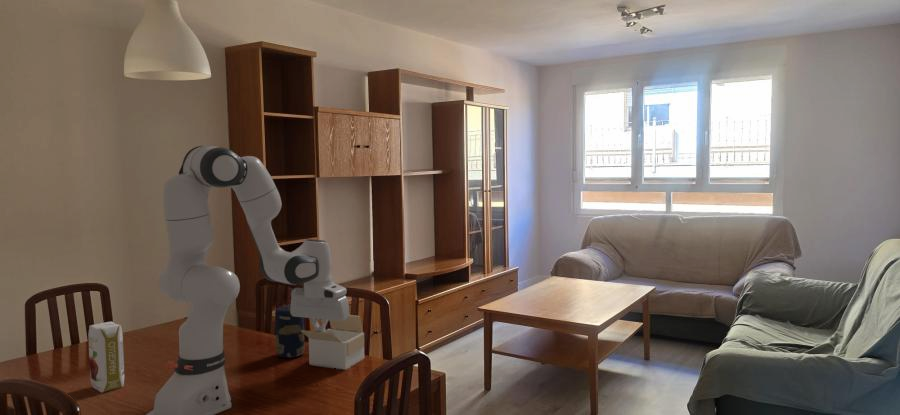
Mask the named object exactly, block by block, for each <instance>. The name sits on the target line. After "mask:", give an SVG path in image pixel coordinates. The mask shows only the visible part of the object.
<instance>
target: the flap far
mask: <svg viewBox="0 0 900 415" xmlns="http://www.w3.org/2000/svg"><path fill="white" fill-rule="evenodd" d="M328 322H329V323H330V324H329V325H330V329H335V330H344V331H353V332H361V333H363V325H362V320H361V316H360V315H356V314H355V315H353V314H349V317H348V318H347V319H346V320H344V321H335V320H328Z"/></svg>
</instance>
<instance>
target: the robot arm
mask: <svg viewBox="0 0 900 415" xmlns="http://www.w3.org/2000/svg"><path fill="white" fill-rule="evenodd" d="M181 164H182V165H181V166H180V169H179V171H178V174H177V175H174V176H172V177H171V178H169V179H167V180H166V181H165V183H164V185H163V192H162V193H163V196H162V198H163V199H162V200H163V213H164V214H163V215H164V219H165V225H166V231H167V238H168V251H169V252H168V260H167V263H166V266H165V268H164V270H163V271H162V272H161V274H160V276H159V281H158V284H159V285H158V286H159V288H160V291H161V292H162V294H163V295H164V296H166V297H168V298H169V299H170V300H173V301H175V302H179V303H183V304H184V303H186V304H189V312H188V316H187V319H186V320H185V321H184V322H182V324H181V325H180V326H179V329H178V341H179V342H178V343H179V344H178V345H179V355H178V357H177V359H176V361H172V360H170V361H168V362H167V364H166V368H167V369H168V370H174V372H173V374H172V375H171V377H169V379H168V380H167V381H166V382H165V384H164V385H163V386H162V387H161V388H160V390H159V391H157V393H156V395H155V398H154V402H153V403H154V404H153V409H152V410H151V411H149V412H148V413H146V414H145V415H217V414H219V413H221V412H224V411H226V410H229V409H231V408H232V406H233V405H232V402H231V400H232V397H231V395H230V392H229V387H228V381H227V376H226V372H225V371H226V370H225V365H226V354H225V353H226V352H225V350H224V344H223V341H224V340H223V339H224V338H223V337H224V335H223V334H224V320H225V316H226V315H227V314H226V313H227V311H228V308H229V307H230V305H231V304H233V303H234V302H235V300H236V299H237V298H238V296H239V293H240V290H241V289H240V288H241V285H240V280H239V277H238V276H237V274H235V273H234V272H232V271H231V270H229V269H226V268H224V267H221V266H216V265H208V264H207V261H206V256H207V252H208V249H209V247H211V246H212V245H213V242H214V237H215V236H214V231H213V230H214V229H213V226H212V219H211V212H210V207H209V203H208V201H209V193H210V191H211V189H212V188H214V187H215V188H221V189H222V188H228V187H230V188H231V189H232V190H233V191H234V192H235V196H236V197H237V200H238V202H239V204H240V207H241V208H242V211H243V213H244V215H245V219H246V223H247V226H248V229H249V232H250V234H251V237H252V240H253V242H254V244H255V247H256V249H257V252H258V256H259V265H260V271H261V274H262V275H263V277H264V278H265V279H266V280H267V281H269V282H270V281H271V282H275V283H276V282H277V283H283V284H287V285H293V286H298V285H303V287H295V288H293V289H292V290H291V293H290V296H291V299H290V305H291V307H290V313H291V315H292V316H294V317H304V318H306V319H310V322H311V324H312V325H313V327H314V331H315V332H325V331H326V330H327V329H326V326H327V325H328V322H329V320H335V321H344V320H346V319H347V318H348V317H349V315H350V304H349V300H348V297H347V296H346V295H347V290H348V289H347V288H346V287H344V286H342V285H340V284H338V283H335V282H333V277H332V271H331V270H332V265H333V264H332V252H331V248H330V244H329V243H328V241H326V240H324V239H323V240H322V239H314V238H307V239H305V240H304V241H303V243H302V244H300V246H299V247H297V248H296V249H295V250H293V251H291V252H290V251H286V250H285V249H283V248H282V247H280V245H279V243H278V240H277V238H276V236H275V233H274V230H273V228H272V220H274V219H275V218H276V217H277V216H278V215H279V213H280V211H281V209H282V207H283V206H282V204H283V203H282V199H281V195H280V192H279V190H278V188H277V186H276V184H275V182H274V179H273V178H272V176H271V174H270V173H269V171H268V169H267V168H266V166H265V165H264V163H263V162H262V161H261V160H260V159H259V158H258V157H256V156H252V155H245V156H242V157H241V156H239V155H238V154H237V153H235V152H234V151H233V150H231V149H228V148H226V147H222V146H220V147H219V146H216V145H209V144H208V145H199V146H195V147H193V148H191V149H190V150H188V152H187V153H186V154H185V156H184V157H183V160H182V163H181ZM319 320H320V322H321V325H320V323H319V322H318V321H319Z"/></svg>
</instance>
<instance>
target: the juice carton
mask: <svg viewBox="0 0 900 415" xmlns="http://www.w3.org/2000/svg"><path fill="white" fill-rule="evenodd" d="M88 328H89V329H88V338H87V339H88V353H89V354H88V358H89V375H90V377H89V378H90V382H91V386H92V388H93V389H95V390H97V391H98V392H99V393H106V392H109V391H113V390H117V389H119V388H120V389H121V388H123V387H124V385H125V362H124V361H125V358H124V341H123V340H124V336H123V330H122V325H121V324H118V323H115V322H113V321H107V322H101V323H96V324H91V325H89V327H88Z"/></svg>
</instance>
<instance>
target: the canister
mask: <svg viewBox="0 0 900 415" xmlns="http://www.w3.org/2000/svg"><path fill="white" fill-rule="evenodd" d="M290 307H291V303H290V304H287V305H282V306H279V307H277V308H276V309H275V313H274V316H275V317H274V318H275V347H276V350H275V351H276V355H277V356H278V357H280V358H285V359H288V358H289V359H290V358H297V357H299V356H302V355H303V354H304V353H305V334H304V333H302V332H301V330H305V322H304V321H305V319H304V317H294V316H292V315H291V313H290Z"/></svg>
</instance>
